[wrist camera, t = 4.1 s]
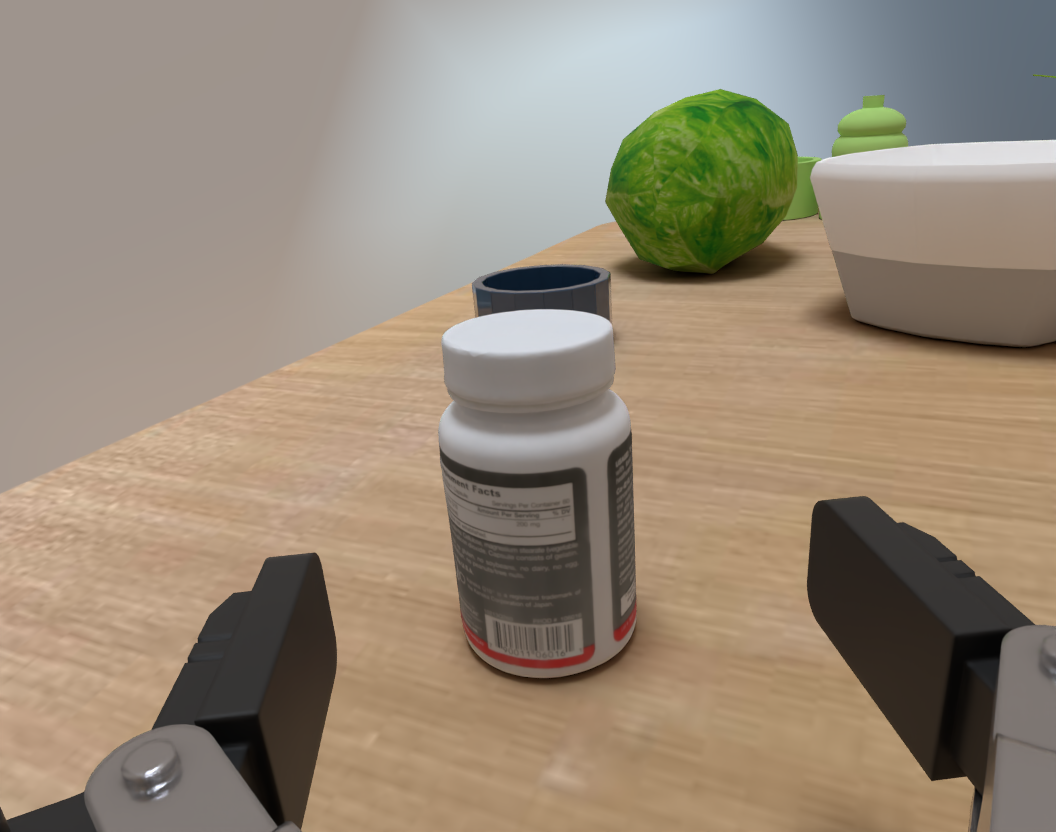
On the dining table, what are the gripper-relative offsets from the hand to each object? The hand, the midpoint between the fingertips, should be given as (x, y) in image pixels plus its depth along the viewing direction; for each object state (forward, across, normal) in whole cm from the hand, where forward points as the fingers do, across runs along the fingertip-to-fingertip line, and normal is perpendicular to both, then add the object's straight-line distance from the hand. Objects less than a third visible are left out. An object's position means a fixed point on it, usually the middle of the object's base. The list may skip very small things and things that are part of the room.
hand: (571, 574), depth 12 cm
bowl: (+32, -28, +6) cm, 43 cm away
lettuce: (+57, -20, +6) cm, 61 cm away
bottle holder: (+35, -3, +6) cm, 36 cm away
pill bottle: (+7, 0, +6) cm, 9 cm away
